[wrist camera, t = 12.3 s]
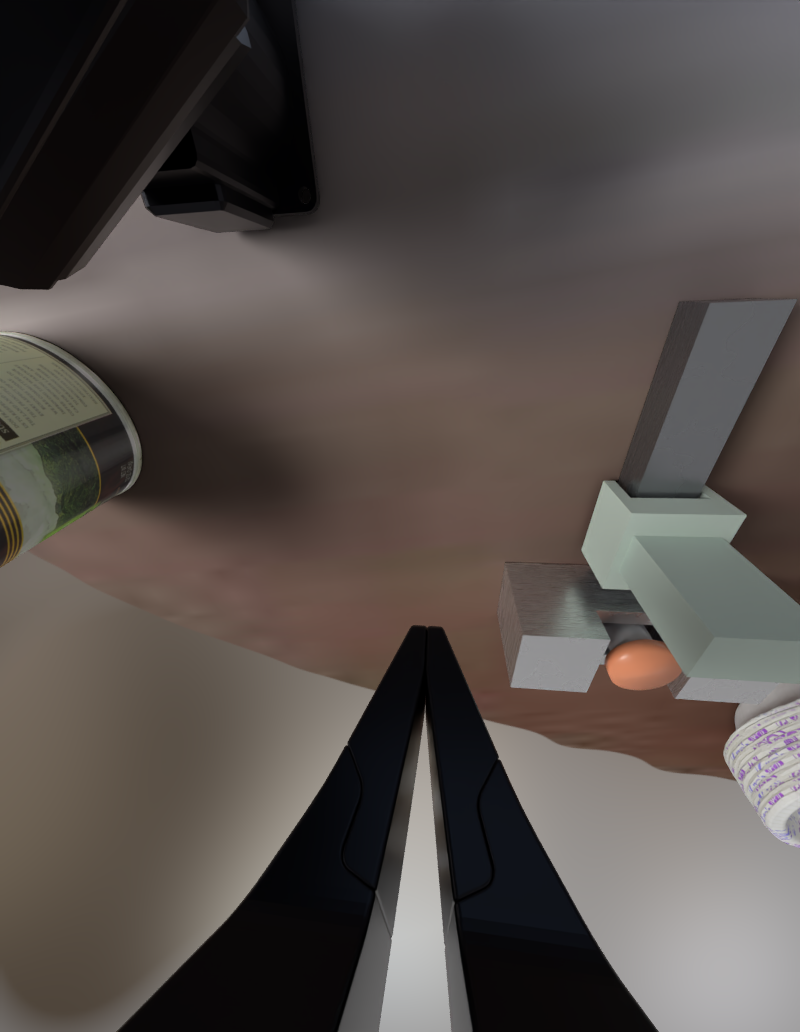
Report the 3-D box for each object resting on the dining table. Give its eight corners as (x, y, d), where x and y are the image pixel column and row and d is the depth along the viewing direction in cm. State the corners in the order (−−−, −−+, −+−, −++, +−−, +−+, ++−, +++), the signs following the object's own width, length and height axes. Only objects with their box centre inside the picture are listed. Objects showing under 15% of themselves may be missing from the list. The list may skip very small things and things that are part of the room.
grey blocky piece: (505, 562, 23) (522, 635, 18) (727, 569, 22) (811, 650, 17) (496, 611, 26) (510, 687, 21) (694, 621, 25) (758, 704, 20)
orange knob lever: (587, 583, 22) (621, 650, 18) (646, 585, 22) (694, 654, 18) (574, 620, 24) (602, 687, 20) (628, 622, 24) (667, 692, 20)
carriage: (603, 480, 19) (716, 611, 11) (700, 481, 19) (888, 618, 11) (581, 550, 22) (660, 694, 14) (665, 552, 21) (795, 703, 13)
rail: (679, 301, 15) (709, 303, 13) (756, 298, 14) (797, 299, 13) (591, 559, 23) (603, 580, 21) (639, 560, 22) (655, 582, 21)
